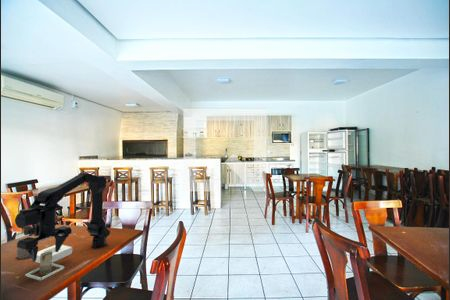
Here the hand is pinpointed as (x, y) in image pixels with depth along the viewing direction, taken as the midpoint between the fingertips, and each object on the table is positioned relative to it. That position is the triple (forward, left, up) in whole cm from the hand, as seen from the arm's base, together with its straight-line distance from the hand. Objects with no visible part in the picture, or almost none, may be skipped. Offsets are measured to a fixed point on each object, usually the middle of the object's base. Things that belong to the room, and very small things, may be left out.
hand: (45, 256), depth 95 cm
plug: (0, 0, -7) cm, 7 cm away
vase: (-6, -22, -8) cm, 24 cm away
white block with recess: (-10, -10, -8) cm, 16 cm away
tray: (0, 0, -8) cm, 8 cm away
